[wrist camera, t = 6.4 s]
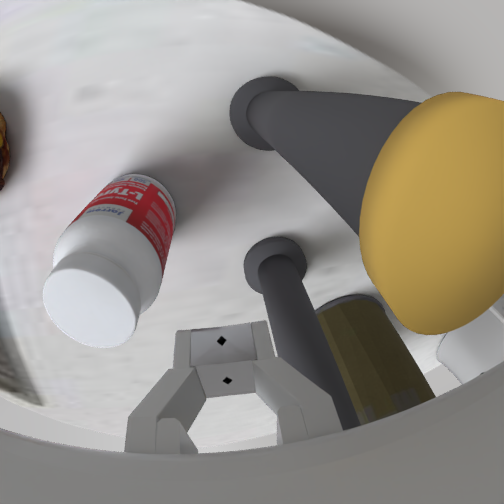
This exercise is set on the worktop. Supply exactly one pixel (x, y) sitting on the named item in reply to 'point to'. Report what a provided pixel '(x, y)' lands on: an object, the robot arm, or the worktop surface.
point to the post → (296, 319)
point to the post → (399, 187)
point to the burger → (3, 152)
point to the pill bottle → (111, 262)
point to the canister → (372, 358)
